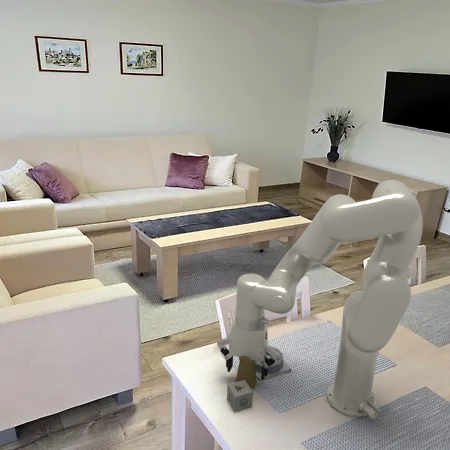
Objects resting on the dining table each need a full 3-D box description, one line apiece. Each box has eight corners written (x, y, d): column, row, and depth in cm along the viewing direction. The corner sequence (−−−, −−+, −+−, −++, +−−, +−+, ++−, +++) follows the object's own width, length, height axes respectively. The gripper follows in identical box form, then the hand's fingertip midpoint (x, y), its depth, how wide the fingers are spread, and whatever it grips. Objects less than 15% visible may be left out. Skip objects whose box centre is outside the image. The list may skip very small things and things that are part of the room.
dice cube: (226, 399, 114) (227, 384, 112) (243, 394, 115) (244, 379, 114) (234, 412, 109) (235, 396, 108) (252, 407, 111) (253, 391, 109)
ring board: (291, 371, 125) (292, 361, 124) (259, 382, 120) (260, 372, 119) (270, 350, 134) (271, 341, 133) (240, 360, 129) (240, 350, 128)
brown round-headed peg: (243, 372, 124) (245, 340, 120) (261, 382, 120) (263, 349, 116) (231, 383, 119) (232, 350, 116) (248, 393, 116) (250, 359, 112)
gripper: (284, 318, 114) (279, 371, 120) (222, 306, 119) (221, 358, 124) (279, 333, 107) (274, 389, 113) (214, 320, 112) (212, 374, 118)
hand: (246, 373), depth 119 cm, fingers open, 9 cm apart
